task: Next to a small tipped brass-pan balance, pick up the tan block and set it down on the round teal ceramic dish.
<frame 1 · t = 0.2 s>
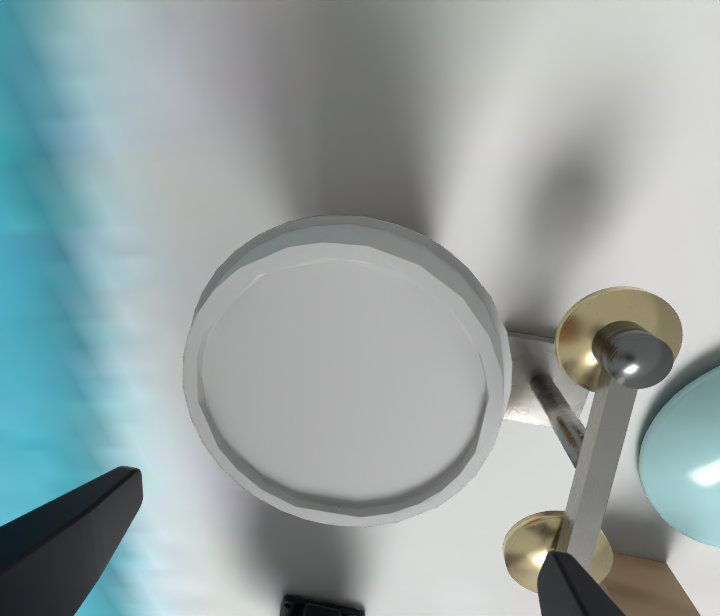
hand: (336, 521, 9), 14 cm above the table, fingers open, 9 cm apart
balance: (537, 377, 22), on the table
tan block: (612, 580, 27), on the table
disposable coffee cup: (373, 281, 22), on the table
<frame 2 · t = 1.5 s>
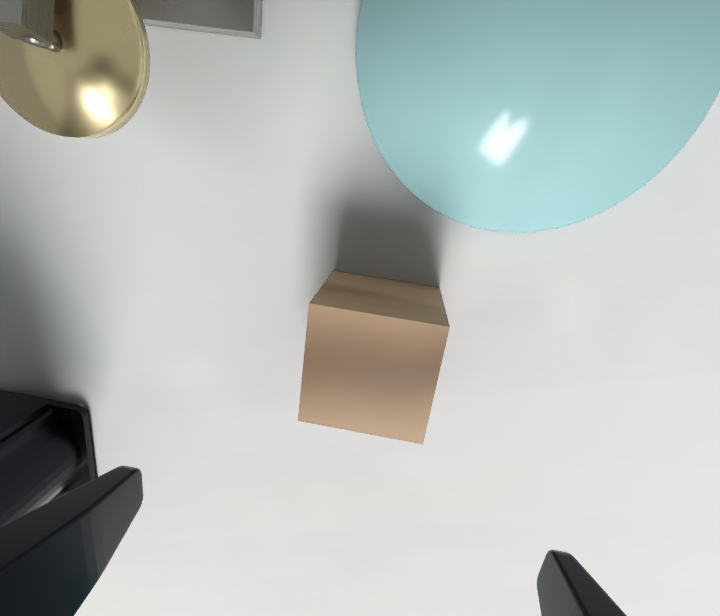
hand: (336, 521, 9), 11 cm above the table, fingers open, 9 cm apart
tan block: (378, 327, 20), on the table
teal dish: (529, 56, 15), on the table
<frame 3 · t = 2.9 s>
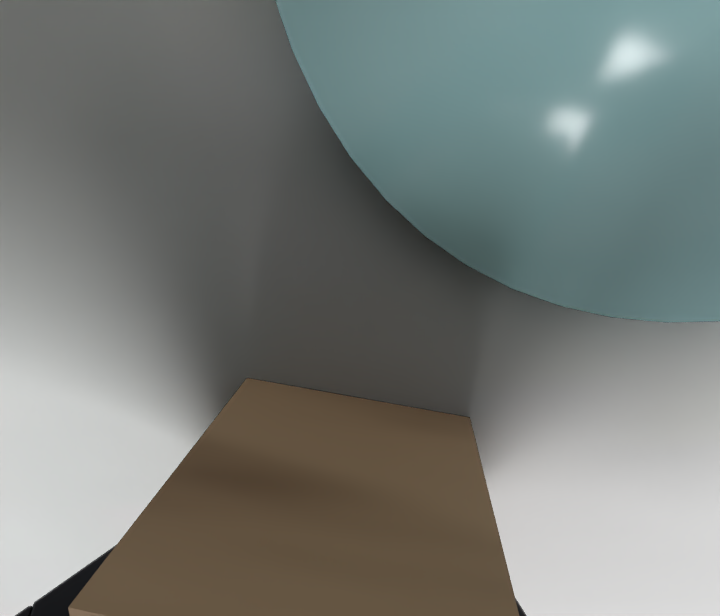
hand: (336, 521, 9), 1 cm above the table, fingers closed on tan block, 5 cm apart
tan block: (343, 485, 10), on the table, touching gripper
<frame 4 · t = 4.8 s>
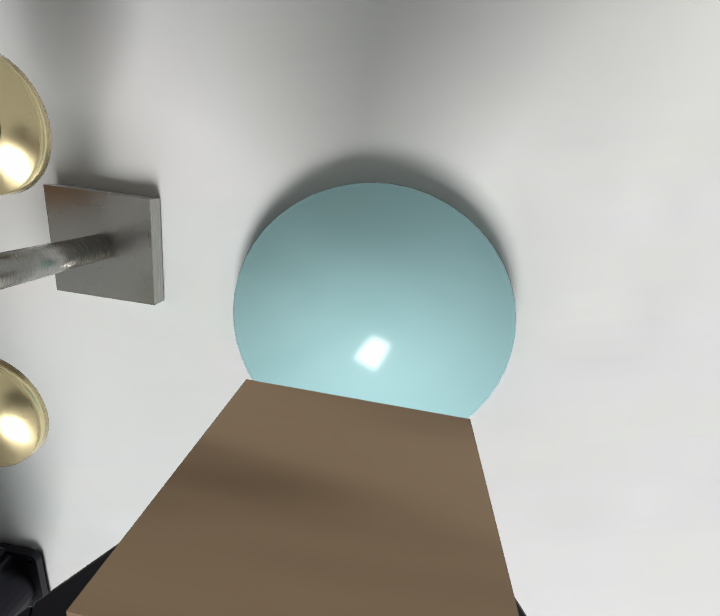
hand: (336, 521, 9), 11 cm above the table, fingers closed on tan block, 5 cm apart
balance: (112, 244, 19), on the table
tan block: (343, 487, 10), point 10 cm above the table, touching gripper
teal dish: (371, 322, 19), on the table
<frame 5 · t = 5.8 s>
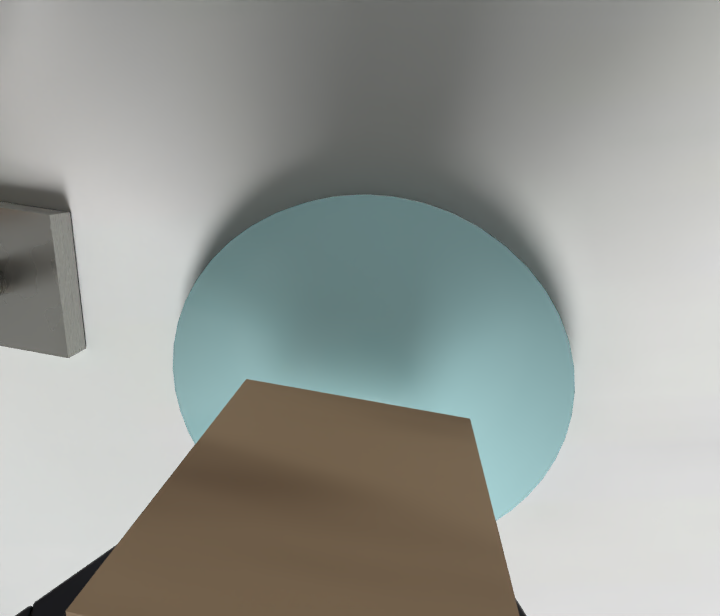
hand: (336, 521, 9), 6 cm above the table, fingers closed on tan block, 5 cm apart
balance: (12, 273, 14), on the table
tan block: (343, 487, 10), point 5 cm above the table, touching gripper
teal dish: (365, 386, 14), on the table
when the fingers open (3 cm above the table, at t = 6.7 s): tan block stays where it is, resting on teal dish.
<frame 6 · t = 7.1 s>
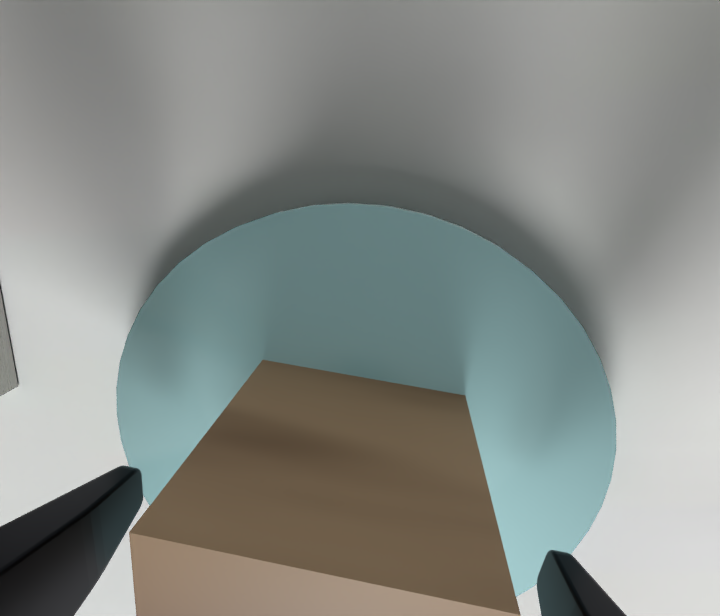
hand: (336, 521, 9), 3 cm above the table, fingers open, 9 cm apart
tan block: (349, 459, 11), point 1 cm above the table, touching teal dish
teal dish: (354, 434, 11), on the table
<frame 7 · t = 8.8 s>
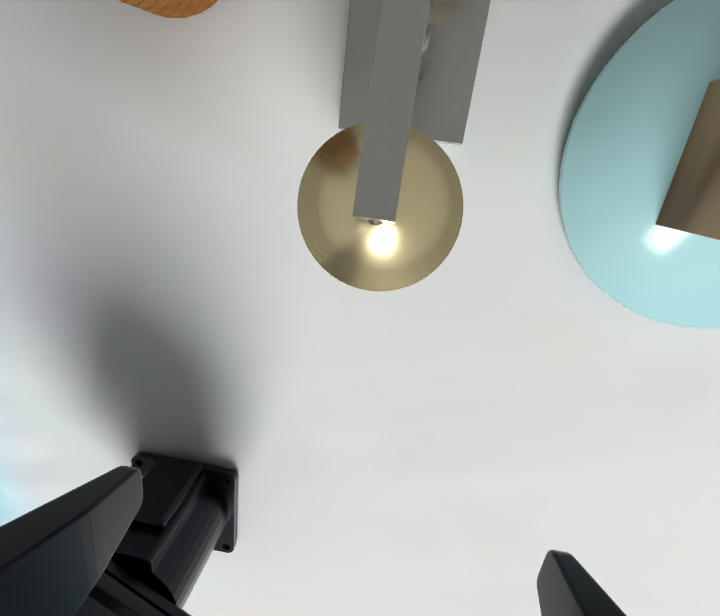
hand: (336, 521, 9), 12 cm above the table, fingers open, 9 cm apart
balance: (410, 69, 16), on the table
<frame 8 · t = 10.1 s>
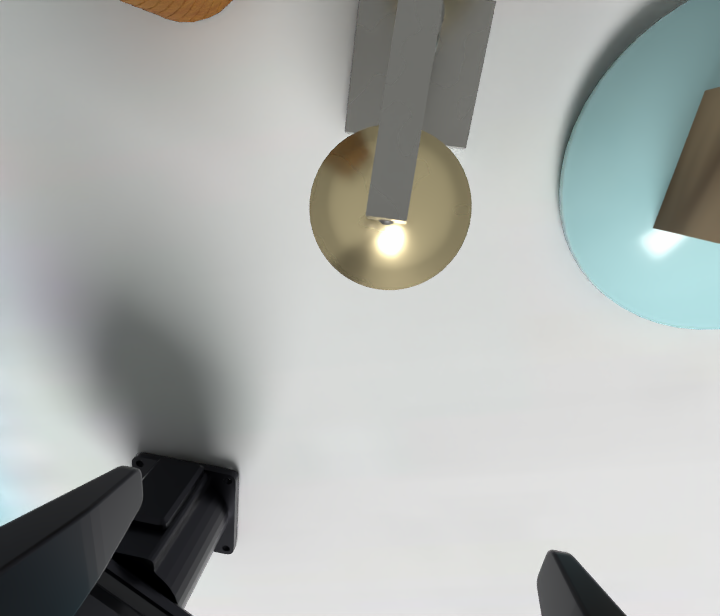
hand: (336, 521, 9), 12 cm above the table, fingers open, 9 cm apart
balance: (415, 75, 16), on the table
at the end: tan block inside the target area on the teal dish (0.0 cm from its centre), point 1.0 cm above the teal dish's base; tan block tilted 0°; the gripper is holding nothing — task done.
